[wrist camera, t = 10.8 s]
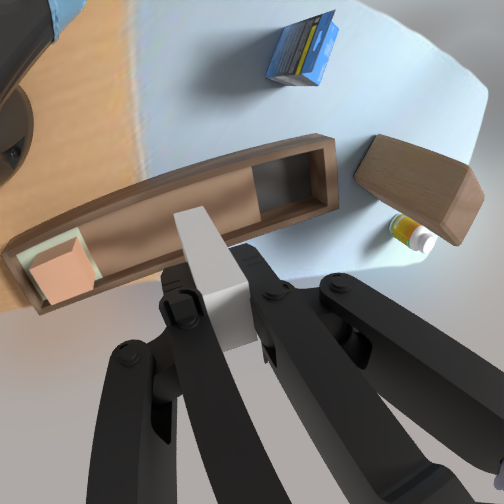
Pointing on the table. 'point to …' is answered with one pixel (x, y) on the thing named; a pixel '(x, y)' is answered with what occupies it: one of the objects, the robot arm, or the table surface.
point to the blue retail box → (303, 51)
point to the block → (422, 186)
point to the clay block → (63, 271)
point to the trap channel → (180, 199)
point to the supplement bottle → (411, 233)
